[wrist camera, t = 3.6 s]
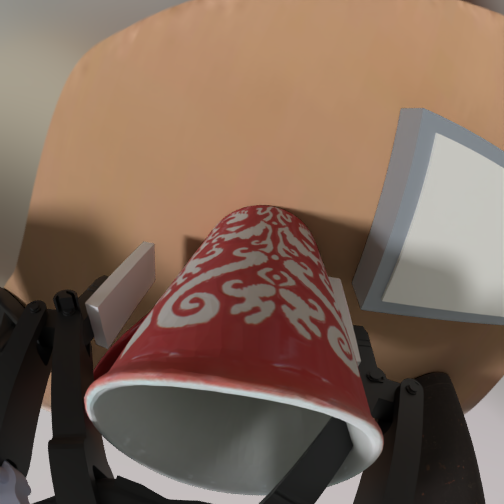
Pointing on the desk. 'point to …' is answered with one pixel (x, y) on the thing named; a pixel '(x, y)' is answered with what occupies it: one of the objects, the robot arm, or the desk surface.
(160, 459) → the mug
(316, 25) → the desk surface
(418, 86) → the desk surface
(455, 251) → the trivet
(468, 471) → the container
